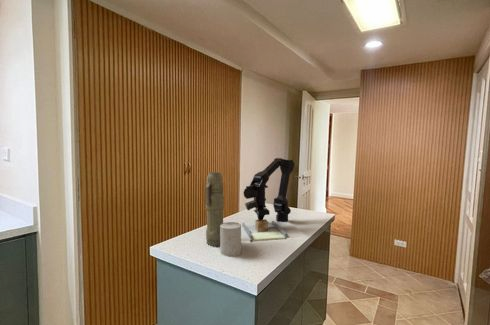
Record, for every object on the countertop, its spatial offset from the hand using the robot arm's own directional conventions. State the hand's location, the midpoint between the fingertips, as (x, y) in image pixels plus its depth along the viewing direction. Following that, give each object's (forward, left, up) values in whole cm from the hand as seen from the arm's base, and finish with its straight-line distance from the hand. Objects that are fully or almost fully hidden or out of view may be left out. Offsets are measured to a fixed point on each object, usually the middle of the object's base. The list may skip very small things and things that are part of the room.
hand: (259, 223), depth 152 cm
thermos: (+27, +16, -4) cm, 31 cm away
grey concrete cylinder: (+21, +28, -4) cm, 35 cm away
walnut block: (0, +5, -2) cm, 5 cm away
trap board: (0, +6, -4) cm, 7 cm away
